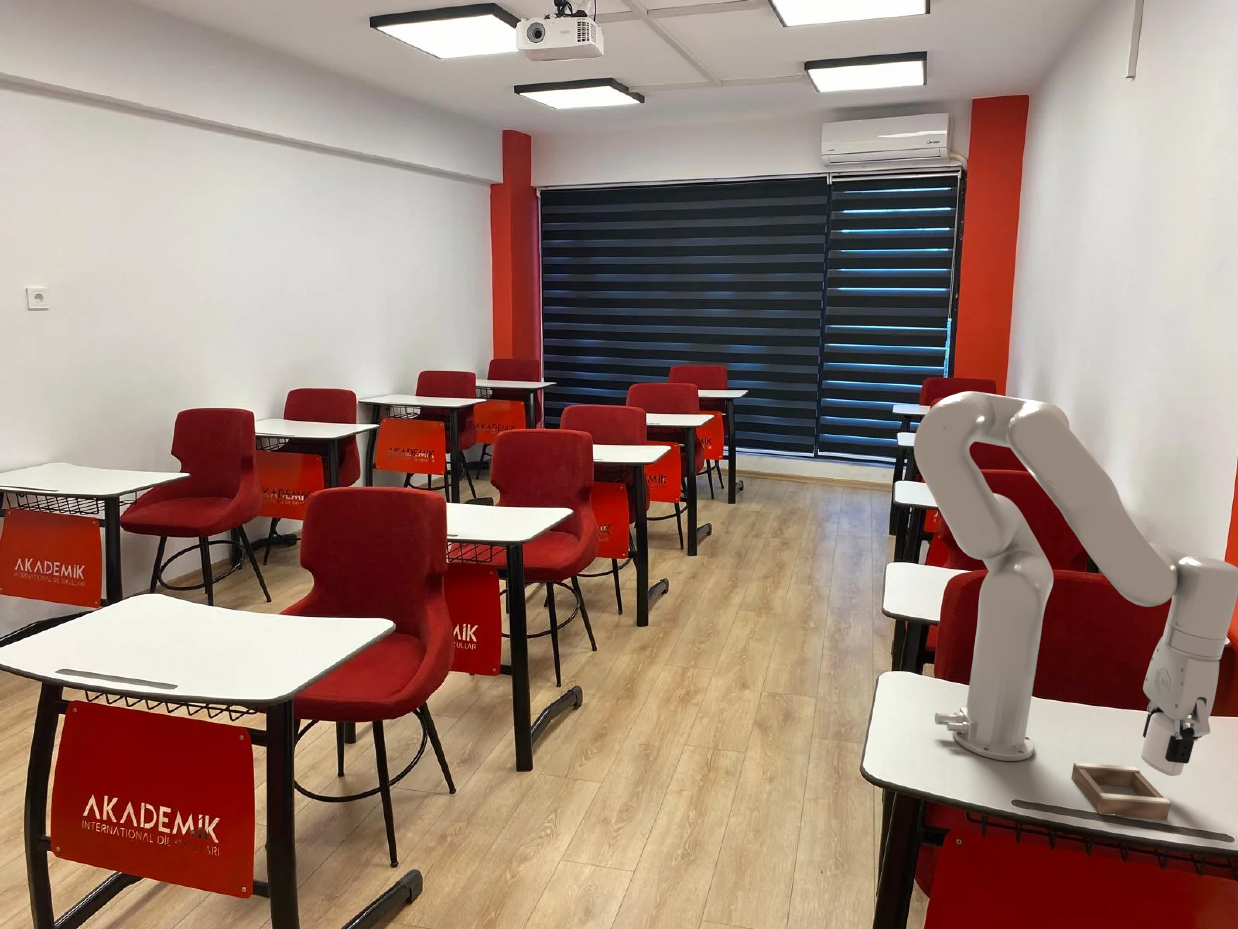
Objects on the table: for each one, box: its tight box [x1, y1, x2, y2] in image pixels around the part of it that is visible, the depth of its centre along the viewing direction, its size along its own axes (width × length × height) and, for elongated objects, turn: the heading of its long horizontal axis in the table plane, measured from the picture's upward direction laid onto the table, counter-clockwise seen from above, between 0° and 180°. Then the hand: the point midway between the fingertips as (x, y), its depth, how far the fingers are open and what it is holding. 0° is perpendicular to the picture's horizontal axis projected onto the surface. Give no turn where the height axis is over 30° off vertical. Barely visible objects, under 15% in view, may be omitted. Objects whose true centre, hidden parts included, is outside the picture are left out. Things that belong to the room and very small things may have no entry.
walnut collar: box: [1070, 761, 1171, 821], centre depth 131 cm, size 10×10×3 cm
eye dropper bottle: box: [1140, 712, 1190, 777], centre depth 132 cm, size 4×6×12 cm
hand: (1165, 749), depth 133 cm, fingers closed on eye dropper bottle, 5 cm apart
